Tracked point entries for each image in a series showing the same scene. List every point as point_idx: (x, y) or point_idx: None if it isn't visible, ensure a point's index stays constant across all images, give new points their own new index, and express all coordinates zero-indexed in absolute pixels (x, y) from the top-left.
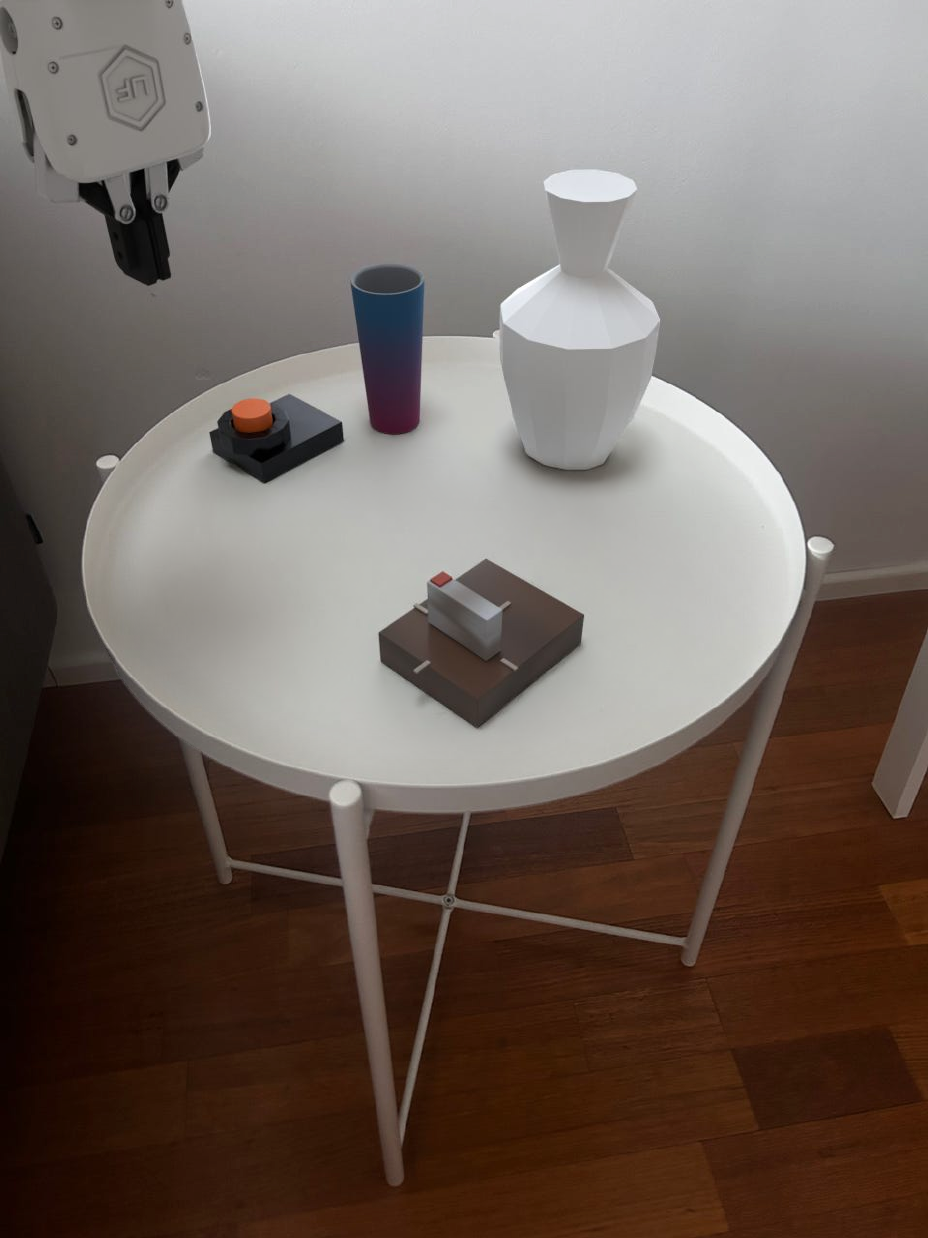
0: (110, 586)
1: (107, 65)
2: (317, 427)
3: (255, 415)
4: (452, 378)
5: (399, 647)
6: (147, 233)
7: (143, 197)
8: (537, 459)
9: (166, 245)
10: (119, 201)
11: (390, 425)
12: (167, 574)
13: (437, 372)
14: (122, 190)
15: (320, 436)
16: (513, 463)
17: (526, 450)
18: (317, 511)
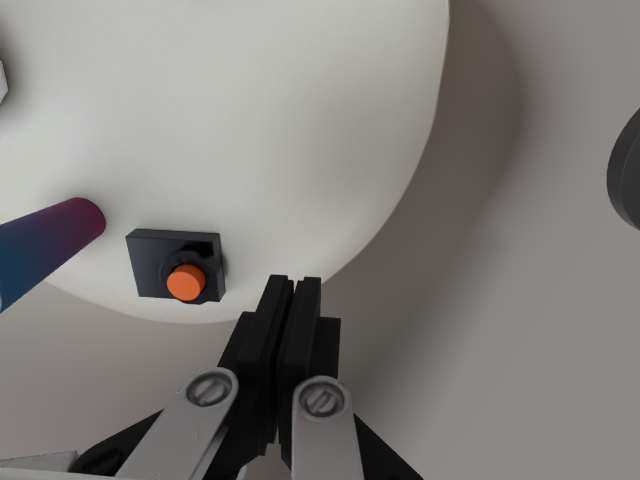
0: (379, 222)
1: None
2: (147, 245)
3: (186, 275)
4: None
5: None
6: (285, 341)
7: (236, 428)
8: (2, 70)
9: (241, 324)
10: (333, 432)
11: (92, 209)
12: (342, 202)
13: None
14: (312, 458)
15: (151, 236)
16: (27, 89)
17: (4, 88)
18: (208, 174)
